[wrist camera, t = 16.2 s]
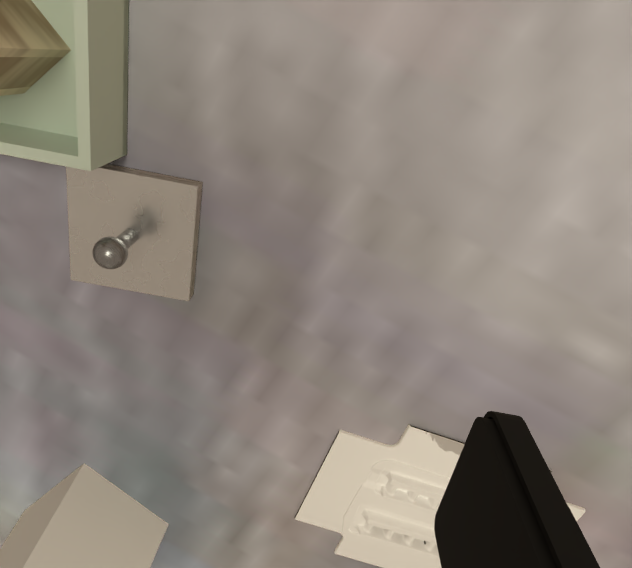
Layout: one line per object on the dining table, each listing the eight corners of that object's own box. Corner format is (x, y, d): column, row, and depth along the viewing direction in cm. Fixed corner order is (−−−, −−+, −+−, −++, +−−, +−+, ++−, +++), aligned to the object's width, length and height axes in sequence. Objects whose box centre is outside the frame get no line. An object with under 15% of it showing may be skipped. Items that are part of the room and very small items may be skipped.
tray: (502, 595, 59) (511, 627, 55) (286, 524, 57) (281, 553, 53) (601, 481, 50) (618, 511, 47) (350, 393, 48) (350, 418, 45)
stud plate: (75, 157, 38) (26, 176, 32) (202, 181, 38) (177, 204, 32) (79, 272, 42) (36, 307, 36) (193, 293, 42) (170, 331, 36)
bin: (-89, -106, 31) (-180, -141, 25) (129, -61, 31) (85, -86, 26) (-56, 119, 37) (-124, 130, 31) (126, 154, 37) (90, 171, 32)
